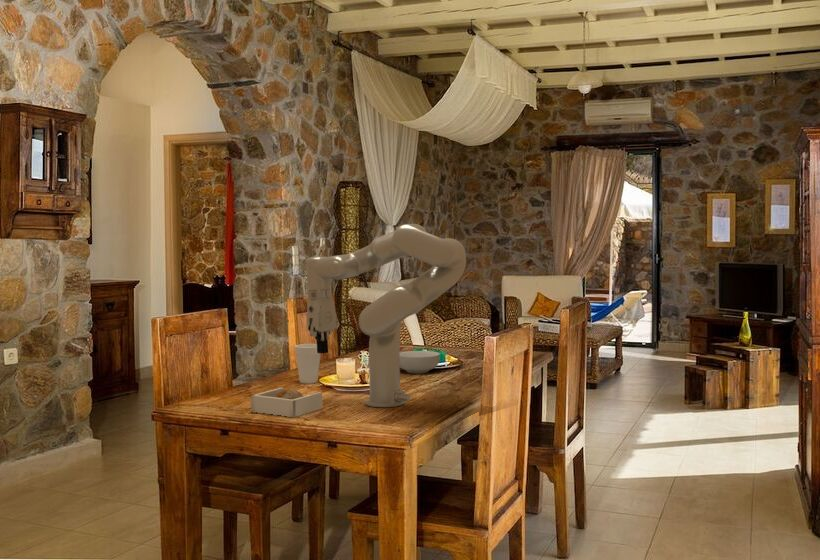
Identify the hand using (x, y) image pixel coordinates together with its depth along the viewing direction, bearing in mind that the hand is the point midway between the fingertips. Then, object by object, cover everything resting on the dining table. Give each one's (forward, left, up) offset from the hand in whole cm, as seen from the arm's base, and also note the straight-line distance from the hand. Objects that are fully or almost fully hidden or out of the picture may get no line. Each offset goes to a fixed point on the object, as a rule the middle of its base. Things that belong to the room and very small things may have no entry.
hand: (322, 352), depth 266 cm
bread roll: (+1, +16, -16) cm, 22 cm away
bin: (+1, +17, -15) cm, 23 cm away
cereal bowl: (0, -59, -16) cm, 61 cm away
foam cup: (+24, -23, -15) cm, 36 cm away
